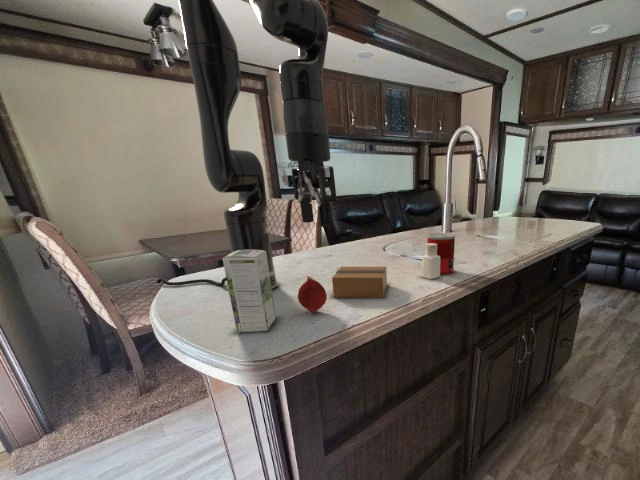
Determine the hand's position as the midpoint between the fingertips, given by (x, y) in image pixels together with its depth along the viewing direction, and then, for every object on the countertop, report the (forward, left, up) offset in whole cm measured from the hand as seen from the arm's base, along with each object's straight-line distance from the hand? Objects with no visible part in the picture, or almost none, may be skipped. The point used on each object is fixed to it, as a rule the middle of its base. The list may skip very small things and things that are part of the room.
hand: (316, 224), depth 63 cm
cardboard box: (+6, +12, -18) cm, 23 cm away
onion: (-2, -2, -18) cm, 19 cm away
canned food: (+27, +30, -18) cm, 45 cm away
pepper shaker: (+24, +24, -18) cm, 39 cm away
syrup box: (-11, -9, -18) cm, 23 cm away
